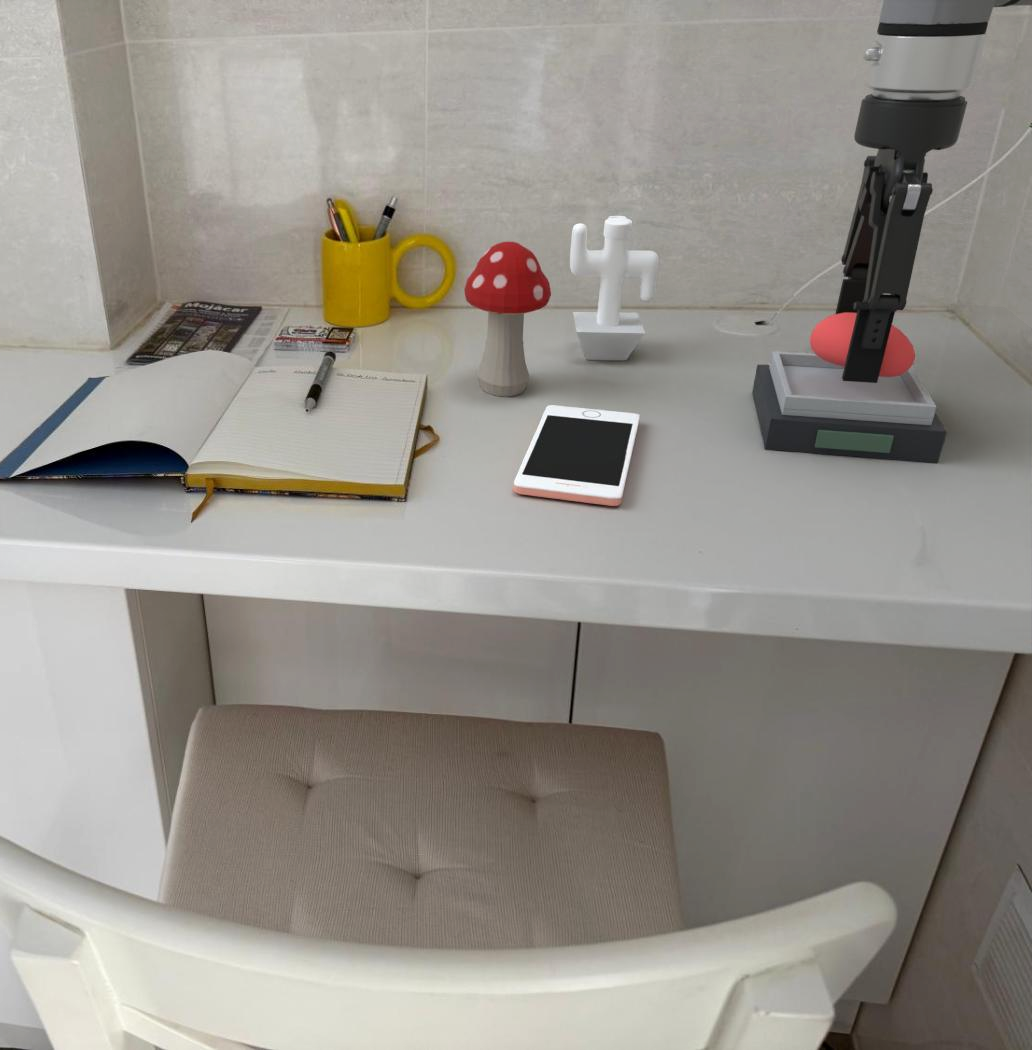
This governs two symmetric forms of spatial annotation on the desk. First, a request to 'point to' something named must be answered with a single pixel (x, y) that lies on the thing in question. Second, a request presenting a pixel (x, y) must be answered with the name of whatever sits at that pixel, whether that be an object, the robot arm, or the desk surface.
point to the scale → (844, 411)
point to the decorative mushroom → (506, 312)
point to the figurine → (611, 289)
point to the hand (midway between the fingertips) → (851, 363)
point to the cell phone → (579, 455)
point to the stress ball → (836, 335)
